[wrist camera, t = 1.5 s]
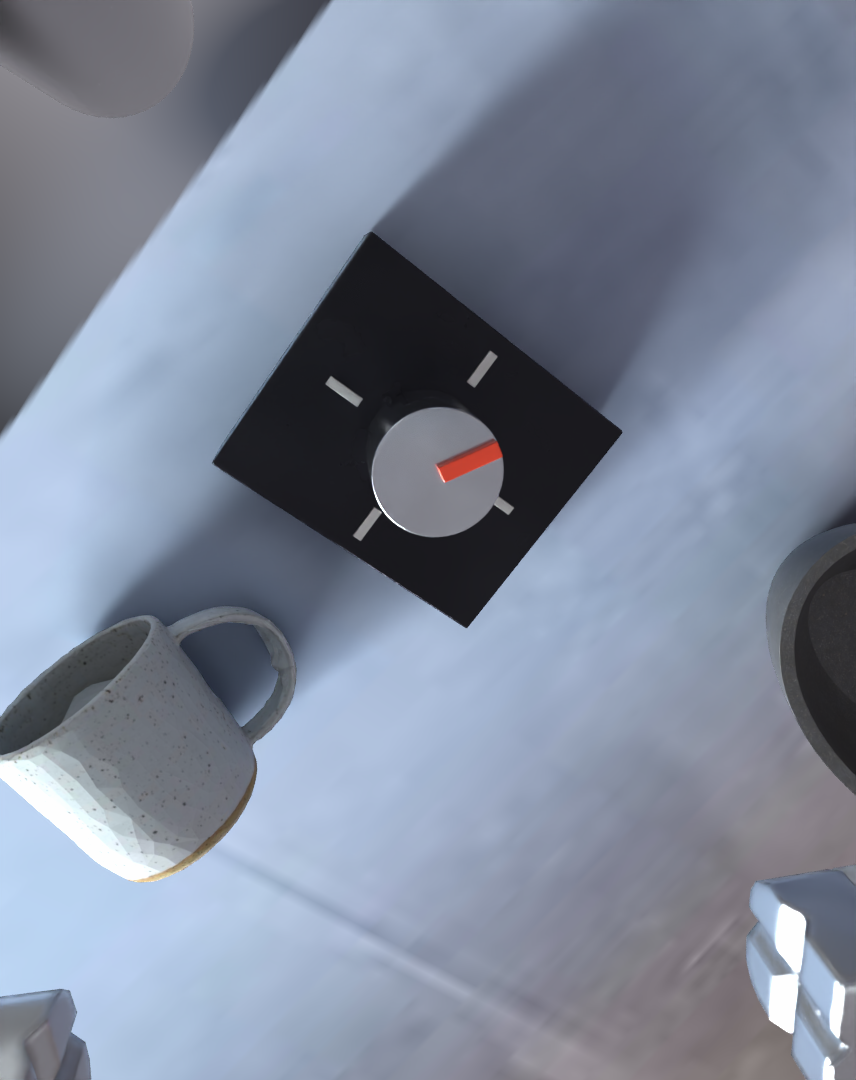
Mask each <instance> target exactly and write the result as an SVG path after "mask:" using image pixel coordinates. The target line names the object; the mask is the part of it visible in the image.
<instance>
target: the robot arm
mask: <svg viewBox="0 0 856 1080" xmlns="http://www.w3.org/2000/svg"><path fill="white" fill-rule="evenodd" d="M749 907H750V909H751V910H752V912H753V914H754V915H755V917H756V918H757V920H758V922H757V923H756V925H755V926H754V927H753V928H752V930H751V931H750V932H749V933H748V935H747V941H746V960H747V965H748V970H749V974H750V979H751V983H752V985H753V987H754V990H755V992H756V995H757V997H758V999H759V1002H760V1003H761V1005H762V1007H763V1008H764V1010H765V1012H766V1014H767V1015H768V1017H769V1019H770V1020H771V1021H772V1022H774V1023H775V1024H777V1025H779V1026H780V1027H782V1028H783V1029H785V1030H786V1031H788V1032H789V1033H791V1034H792V1035H793V1042H792V1052H791V1056H792V1057H793V1059H794V1060H795V1062H796V1064H797V1065H798V1067H799V1069H800V1070H801V1072H802V1074H803V1075H804V1077H805V1079H806V1080H856V865H850V866H844V867H838V868H834V869H832V870H830V869H826V870H820V871H814V872H808V873H802V874H796V875H790V876H784V877H778V878H772V879H766V880H760V881H756V882H755V884H754V885H753V887H752V889H751V893H750V903H749ZM76 1014H77V1011H76V1008H75V1005H74V1002H73V999H72V996H71V993H70V991H69V990H64V989H57V990H49V991H41V992H34V993H26V994H18V995H10V996H2V997H0V1080H91V1071H90V1059H89V1055H88V1051H87V1047H86V1043H85V1042H84V1041H83V1040H81V1039H80V1038H79V1037H77V1036H76V1035H74V1034H73V1033H71V1030H72V1027H73V1023H74V1020H75V1017H76Z"/></svg>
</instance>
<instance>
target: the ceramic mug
mask: <svg viewBox="0 0 856 1080" xmlns="http://www.w3.org/2000/svg"><path fill="white" fill-rule="evenodd" d="M227 622H233V623H244V624H246V625H254V627H255V629H256V630H257V632H258V634H259V635H260V637H261V638H262V640H263V641H264V643H265V645H266V647H267V649H268V651H269V654H270V656H271V665H272V666H273V668H274V669H275V670H276V671H278V679H277V682H276V685H275V689H274V692H273V694H272V695H271V697H270V698H269V699H268V700H267V701H266V704H265V706H264V707H263V708H262V709H261V710H260V711H259V712H258V713H257V714H256V716H255V717H254V718H253V719H251V720H250V721H249V722H248V723H247V724H246V725H244V726H242V727H240V726H239V724H238V723H237V722H236V721H235V719H234V718H233V716H232V714H231V713H230V712H229V711H228V710H227V708H226V707H225V706H224V704H223V702H222V701H221V699H220V698H218V697H216V695H215V694H214V693H213V691H212V690H211V689H210V687H209V686H208V685H207V683H206V682H205V680H204V678H203V677H202V675H201V674H200V672H199V671H198V669H197V668H196V666H195V665H194V664H193V663H192V662H191V660H190V659H189V657H188V656H187V655H186V654H185V652H184V651H183V649H182V648H181V647H180V643H181V641H182V640H183V639H184V638H185V637H186V636H188V635H190V634H192V633H194V632H197V631H200V630H202V629H204V628H207V627H210V626H214V625H217V624H220V623H227ZM295 684H296V662H295V660H294V655H293V652H292V650H291V648H290V645H289V643H288V641H287V640H286V638H285V636H284V635H283V633H282V632H281V630H280V629H279V628H278V627H277V626H276V625H275V624H274V623H273V622H272V621H271V620H269V619H267V618H265V617H264V616H262V615H260V614H258V613H256V612H255V611H252V610H250V609H248V608H244V607H236V606H220V607H214V608H209V609H206V610H203V611H200V612H197V613H194V614H192V615H190V616H188V617H185V618H183V619H181V620H179V621H177V622H176V623H174V624H173V625H171V626H168V627H165V625H164V624H163V623H162V622H161V621H160V620H158V619H157V618H156V617H154V616H151V615H141V616H138V617H133V618H128V619H126V620H123V621H120V622H119V623H117V624H115V625H113V626H111V627H110V628H108V629H105V630H103V631H101V632H99V633H97V634H95V635H94V636H92V637H91V638H89V639H87V640H86V641H84V642H83V643H81V644H80V645H78V646H77V647H75V648H73V649H72V650H71V651H70V652H69V653H67V654H66V655H64V656H62V657H61V658H60V659H59V660H58V661H56V662H55V663H54V664H53V665H52V666H51V667H49V668H48V669H46V670H45V671H44V672H43V673H41V674H40V675H39V676H38V677H37V678H36V679H35V680H34V681H33V682H32V683H31V684H29V685H28V686H27V687H26V688H25V689H24V690H23V691H21V693H20V694H19V695H18V697H17V698H16V699H15V700H14V701H13V702H12V703H11V704H10V705H9V706H8V707H7V709H6V710H5V711H4V713H3V714H2V716H1V717H0V778H1V779H3V780H4V781H5V782H6V783H8V784H9V785H10V786H11V787H12V788H13V789H14V790H16V791H17V792H18V793H19V794H20V795H21V796H22V797H23V798H24V799H26V800H27V801H28V802H29V803H30V804H31V805H32V806H33V807H35V808H36V809H37V810H38V811H39V812H40V813H41V814H43V815H44V816H45V817H46V818H48V819H49V820H50V821H51V822H52V823H54V824H55V825H56V826H57V827H58V828H59V829H61V830H62V831H63V832H64V833H65V834H66V835H68V836H69V837H70V838H71V839H72V840H73V841H74V842H75V843H76V844H77V845H78V846H79V847H80V848H81V849H82V850H83V851H85V852H86V853H87V854H88V855H89V856H90V857H91V858H92V859H94V860H95V861H96V862H98V863H99V864H100V865H102V866H103V867H105V868H107V869H109V870H111V871H112V872H114V873H116V874H118V875H120V876H121V877H123V878H125V879H127V880H130V881H135V882H151V881H157V880H161V879H163V878H166V877H168V876H170V875H173V874H175V873H177V872H179V871H181V870H184V869H185V868H187V867H188V866H190V865H191V864H193V863H194V862H196V861H197V860H199V859H200V858H201V857H202V856H204V855H205V854H206V853H207V852H208V851H209V850H211V849H212V848H213V847H214V846H215V845H216V844H217V843H218V842H219V841H220V840H221V839H222V838H223V837H224V836H225V835H226V834H227V833H228V831H229V830H230V829H231V828H232V827H233V825H234V824H235V823H236V822H237V820H238V819H239V817H240V815H241V814H242V812H243V810H244V809H245V807H246V805H247V803H248V801H249V799H250V797H251V795H252V791H253V788H254V784H255V780H256V774H257V763H256V758H255V755H254V752H253V749H252V747H253V744H254V743H255V742H256V741H257V740H259V739H261V738H262V737H263V736H264V735H265V734H266V733H268V732H269V731H270V730H272V728H273V727H274V725H275V724H276V723H277V722H278V721H279V720H280V719H281V718H282V716H283V714H284V713H285V711H286V709H287V708H288V706H289V705H290V703H291V700H292V698H293V694H294V689H295Z"/></svg>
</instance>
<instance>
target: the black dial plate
mask: <svg viewBox="0 0 856 1080" xmlns="http://www.w3.org/2000/svg"><path fill="white" fill-rule="evenodd" d="M418 389H432V390H438V391H441V392H444V393H447V394H449V395H451V396H453V397H455V398H456V399H458V400H459V401H460V402H461V403H463V404H464V405H465V406H466V407H467V408H468V409H469V410H470V411H471V412H472V413H473V414H474V415H475V416H476V417H478V418H479V419H480V420H481V421H482V422H483V423H484V424H485V425H486V426H487V427H488V429H489V430H490V431H491V432H492V434H493V435H494V437H495V438H496V440H497V442H498V444H499V446H500V449H501V452H502V454H503V462H504V476H503V483H502V487H501V490H500V493H499V496H498V498H497V500H496V501H495V503H494V505H493V506H492V508H491V509H490V511H489V512H488V513H487V514H486V515H485V516H484V517H483V518H482V519H481V520H480V521H479V522H478V523H476V524H475V525H473V526H472V527H470V528H468V529H466V530H464V531H462V532H460V533H457V534H454V535H450V536H444V537H427V536H421V535H417V534H413V533H411V532H409V531H406V530H404V529H403V528H401V527H399V526H398V525H397V524H395V523H394V522H393V521H392V520H391V519H390V518H389V517H388V516H387V515H386V514H385V513H384V511H383V510H382V509H381V507H380V505H379V503H378V502H377V499H376V497H375V494H374V491H373V487H372V483H371V479H370V475H369V471H368V467H367V463H366V459H365V439H366V434H367V431H368V428H369V425H370V423H371V421H372V419H373V418H374V416H375V414H376V413H377V412H378V411H379V410H380V408H381V407H382V406H383V405H385V404H386V403H387V402H388V401H390V400H391V399H392V398H394V397H396V396H398V395H400V394H402V393H405V392H408V391H412V390H418ZM621 434H622V430H621V429H619V428H618V427H617V426H616V425H614V424H613V423H612V422H611V421H609V420H608V419H607V418H605V417H604V416H603V415H602V414H600V413H599V412H598V411H597V410H595V409H594V408H593V407H592V406H590V405H589V404H588V403H587V402H585V401H584V400H583V399H582V398H580V397H579V396H578V395H577V394H575V393H574V392H573V391H572V390H570V389H569V388H568V387H567V386H565V385H564V384H563V383H562V382H560V381H559V380H558V379H557V378H555V377H554V376H553V375H552V374H550V373H549V372H548V371H547V370H545V369H544V368H543V367H541V366H540V365H539V364H538V363H536V362H535V361H534V360H533V359H531V358H530V357H529V356H528V355H526V354H525V353H524V352H523V351H521V350H520V349H519V348H518V347H516V346H515V345H514V344H513V343H511V342H510V341H509V340H508V339H506V338H505V337H504V336H503V335H501V334H500V333H499V332H498V331H496V330H495V329H494V328H493V327H491V326H490V325H489V324H488V323H486V322H485V321H484V320H483V319H481V318H480V317H479V316H477V315H476V314H475V313H474V312H472V311H471V310H470V309H469V308H467V307H466V306H465V305H464V304H462V303H461V302H460V301H459V300H457V299H456V298H455V297H454V296H452V295H451V294H450V293H449V292H447V291H446V290H445V289H444V288H442V287H441V286H440V285H439V284H437V283H436V282H435V281H434V280H432V279H431V278H430V277H429V276H427V275H426V274H425V273H424V272H422V271H421V270H420V269H419V268H417V267H416V266H415V265H413V264H412V263H411V262H410V261H408V260H407V259H406V258H405V257H403V256H402V255H401V254H400V253H398V252H397V251H396V250H395V249H393V248H392V247H391V246H390V245H388V244H387V243H386V242H385V241H383V240H382V239H381V238H380V237H378V236H377V235H376V234H375V233H373V232H369V233H367V234H366V235H364V237H363V238H362V240H361V241H360V243H359V244H358V246H357V247H356V248H355V250H354V251H353V253H352V254H351V256H350V257H349V259H348V260H347V262H346V263H345V265H344V266H343V268H342V269H341V270H340V272H339V273H338V275H337V276H336V278H335V279H334V281H333V282H332V284H331V285H330V287H329V288H328V289H327V291H326V292H325V294H324V295H323V297H322V298H321V300H320V301H319V303H318V304H317V306H316V307H315V308H314V310H313V311H312V313H311V314H310V316H309V317H308V319H307V320H306V322H305V323H304V325H303V326H302V327H301V329H300V330H299V332H298V333H297V335H296V336H295V338H294V339H293V341H292V342H291V344H290V345H289V347H288V348H287V349H286V351H285V352H284V354H283V355H282V357H281V358H280V360H279V361H278V363H277V364H276V366H275V367H274V368H273V370H272V371H271V373H270V374H269V376H268V377H267V379H266V380H265V382H264V383H263V385H262V386H261V387H260V389H259V390H258V392H257V393H256V395H255V396H254V398H253V399H252V401H251V402H250V404H249V405H248V407H247V408H246V409H245V411H244V412H243V414H242V415H241V417H240V418H239V420H238V421H237V423H236V424H235V426H234V427H233V428H232V430H231V431H230V433H229V434H228V436H227V437H226V439H225V440H224V442H223V443H222V445H221V446H220V448H219V450H218V452H217V454H216V456H215V458H214V460H213V462H212V464H213V465H214V466H216V467H217V468H219V469H220V470H222V471H223V472H225V473H227V474H228V475H230V476H231V477H233V478H234V479H236V480H237V481H239V482H240V483H242V484H244V485H245V486H247V487H248V488H250V489H251V490H253V491H254V492H256V493H257V494H259V495H261V496H262V497H264V498H265V499H267V500H268V501H270V502H271V503H273V504H275V505H276V506H278V507H279V508H281V509H282V510H284V511H285V512H287V513H288V514H290V515H292V516H293V517H295V518H296V519H298V520H299V521H301V522H302V523H304V524H305V525H307V526H309V527H310V528H312V529H313V530H315V531H316V532H318V533H319V534H321V535H322V536H324V537H326V538H327V539H329V540H330V541H332V542H333V543H335V544H336V545H338V546H340V547H341V548H343V549H344V550H346V551H347V552H349V553H350V554H352V555H353V556H355V557H357V558H358V559H360V560H361V561H363V562H364V563H366V564H367V565H369V566H370V567H372V568H374V569H375V570H377V571H378V572H380V573H381V574H383V575H384V576H386V577H387V578H389V579H391V580H392V581H394V582H395V583H397V584H398V585H400V586H401V587H403V588H405V589H406V590H408V591H409V592H411V593H412V594H414V595H415V596H417V597H418V598H420V599H422V600H423V601H425V602H426V603H428V604H429V605H431V606H432V607H434V608H435V609H437V610H439V611H440V612H442V613H443V614H445V615H446V616H448V617H449V618H451V619H452V620H454V621H456V622H457V623H459V624H460V625H462V626H463V627H465V628H467V627H468V626H469V625H470V624H471V622H472V621H473V620H474V619H475V617H476V616H477V615H478V614H479V612H480V611H481V610H482V609H483V607H484V606H485V605H486V604H487V602H488V601H489V600H490V599H491V597H492V596H493V595H494V594H495V592H496V591H497V590H498V589H499V587H500V586H501V585H502V584H503V582H504V581H505V580H506V578H507V577H508V576H509V575H510V573H511V572H512V571H513V570H514V568H515V567H516V566H517V565H518V563H519V562H520V561H521V560H522V558H523V557H524V556H525V555H526V553H527V552H528V551H529V550H530V548H531V547H532V546H533V545H534V543H535V542H536V541H537V540H538V538H539V537H540V536H541V534H542V533H543V532H544V531H545V529H546V528H547V527H548V526H549V524H550V523H551V522H552V521H553V519H554V518H555V517H556V516H557V514H558V513H559V512H560V511H561V509H562V508H563V507H564V506H565V504H566V503H567V502H568V501H569V499H570V498H571V497H572V496H573V494H574V493H575V492H576V491H577V489H578V488H579V487H580V485H581V484H582V483H583V482H584V480H585V479H586V478H587V477H588V475H589V474H590V473H591V472H592V470H593V469H594V468H595V467H596V465H597V464H598V463H599V462H600V460H601V459H602V458H603V457H604V455H605V454H606V453H607V452H608V450H609V449H610V448H611V447H612V445H613V444H614V443H615V441H616V440H617V439H618V438H619V436H620V435H621Z"/></svg>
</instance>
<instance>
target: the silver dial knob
mask: <svg viewBox="0 0 856 1080" xmlns="http://www.w3.org/2000/svg"><path fill="white" fill-rule="evenodd" d="M365 459H366V463H367V467H368V471H369V475H370V479H371V483H372V487H373V491H374V494H375V497H376V499H377V502H378V503H379V505H380V507H381V509H382V510H383V511H384V513H385V514H386V515H387V516H388V517H389V518H390V519H391V520H392V521H393V522H394V523H395V524H397V525H398V526H399V527H401V528H403V529H404V530H406V531H409V532H411V533H413V534H417V535H421V536H427V537H444V536H450V535H454V534H457V533H460V532H462V531H464V530H466V529H468V528H470V527H472V526H473V525H475V524H476V523H478V522H479V521H480V520H481V519H482V518H483V517H484V516H485V515H486V514H487V513H488V512H489V511H490V509H491V508H492V506H493V505H494V503H495V501H496V500H497V498H498V496H499V493H500V490H501V487H502V483H503V476H504V462H503V454H502V452H501V449H500V446H499V444H498V442H497V440H496V438H495V437H494V435H493V434H492V432H491V431H490V430H489V429H488V427H487V426H486V425H485V424H484V423H483V422H482V421H481V420H480V419H479V418H478V417H476V416H475V415H474V414H473V413H472V412H471V411H470V410H469V409H468V408H467V407H466V406H465V405H464V404H463V403H461V402H460V401H459V400H458V399H456V398H455V397H453V396H451V395H449V394H447V393H444V392H441V391H438V390H432V389H418V390H412V391H408V392H405V393H402V394H400V395H398V396H396V397H394V398H392V399H391V400H390V401H388V402H387V403H386V404H385V405H383V406H382V407H381V408H380V410H379V411H378V412H377V413H376V414H375V416H374V418H373V419H372V421H371V423H370V425H369V428H368V431H367V434H366V439H365Z"/></svg>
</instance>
